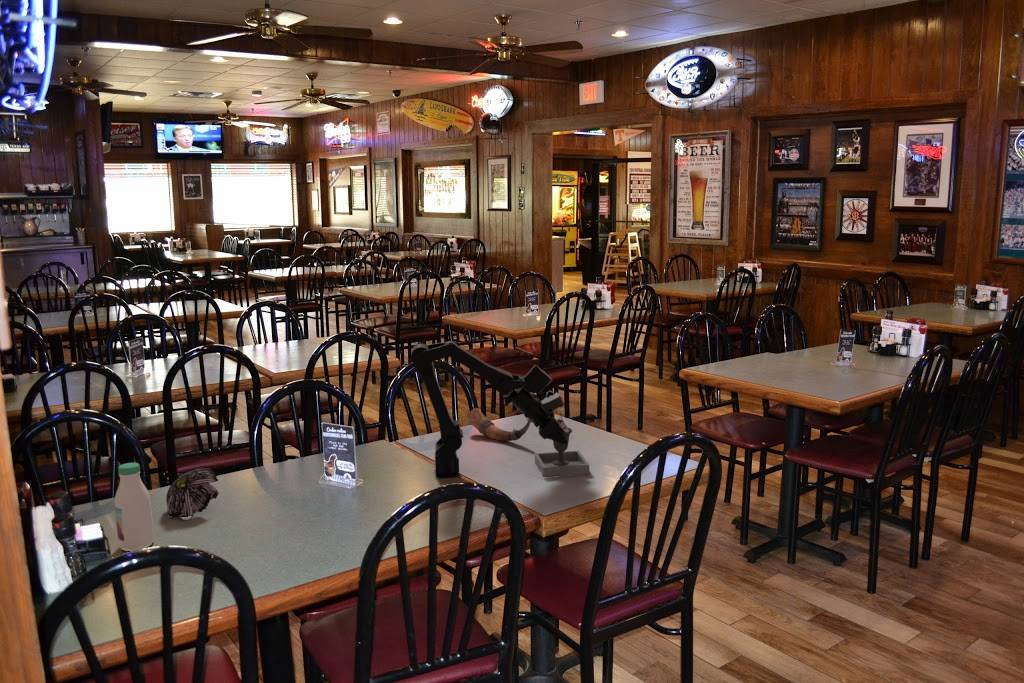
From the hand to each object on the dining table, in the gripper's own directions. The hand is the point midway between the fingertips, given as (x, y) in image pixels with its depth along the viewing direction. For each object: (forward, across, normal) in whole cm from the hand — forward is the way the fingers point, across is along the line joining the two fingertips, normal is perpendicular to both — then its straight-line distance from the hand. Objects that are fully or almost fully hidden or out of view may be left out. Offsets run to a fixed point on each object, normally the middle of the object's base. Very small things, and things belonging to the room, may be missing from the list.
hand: (565, 439), depth 244 cm
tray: (+5, 0, +7) cm, 9 cm away
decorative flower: (-65, -18, +80) cm, 104 cm away
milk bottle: (-70, -40, +84) cm, 117 cm away
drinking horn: (-5, +31, +18) cm, 37 cm away
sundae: (+4, 0, +6) cm, 7 cm away
